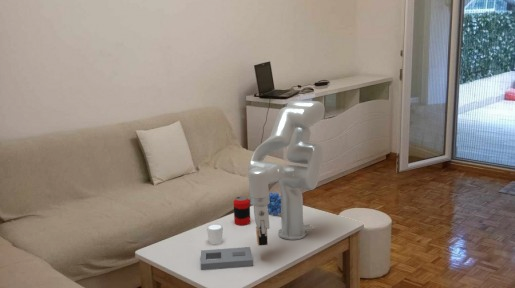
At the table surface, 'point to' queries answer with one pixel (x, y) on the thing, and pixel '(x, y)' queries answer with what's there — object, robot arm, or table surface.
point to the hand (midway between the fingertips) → (262, 241)
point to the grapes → (274, 203)
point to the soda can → (241, 211)
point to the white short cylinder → (215, 233)
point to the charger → (258, 235)
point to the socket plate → (226, 258)
